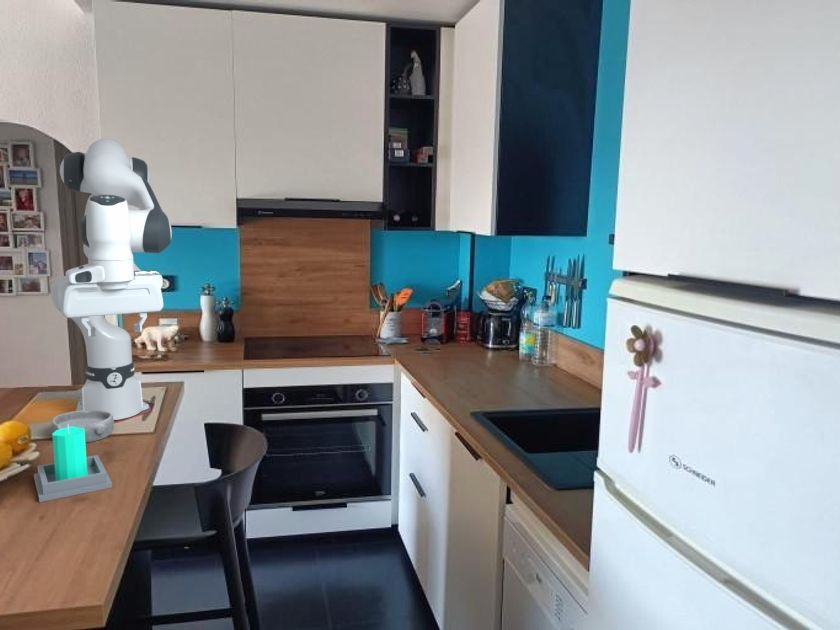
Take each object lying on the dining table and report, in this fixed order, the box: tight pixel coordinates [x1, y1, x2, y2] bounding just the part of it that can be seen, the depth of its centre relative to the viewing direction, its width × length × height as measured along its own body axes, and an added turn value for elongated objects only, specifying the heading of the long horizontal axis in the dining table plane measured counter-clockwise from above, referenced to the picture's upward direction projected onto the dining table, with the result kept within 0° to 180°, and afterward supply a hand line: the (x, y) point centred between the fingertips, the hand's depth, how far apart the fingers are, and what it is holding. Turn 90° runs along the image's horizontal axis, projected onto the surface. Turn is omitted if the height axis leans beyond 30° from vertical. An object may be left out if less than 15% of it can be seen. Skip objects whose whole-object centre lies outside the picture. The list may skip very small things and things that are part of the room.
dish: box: [51, 410, 115, 443], centre depth 163 cm, size 14×14×5 cm
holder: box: [33, 454, 113, 503], centre depth 135 cm, size 13×13×3 cm
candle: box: [51, 425, 87, 481], centre depth 134 cm, size 6×6×12 cm
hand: (115, 333), depth 143 cm, fingers open, 8 cm apart
